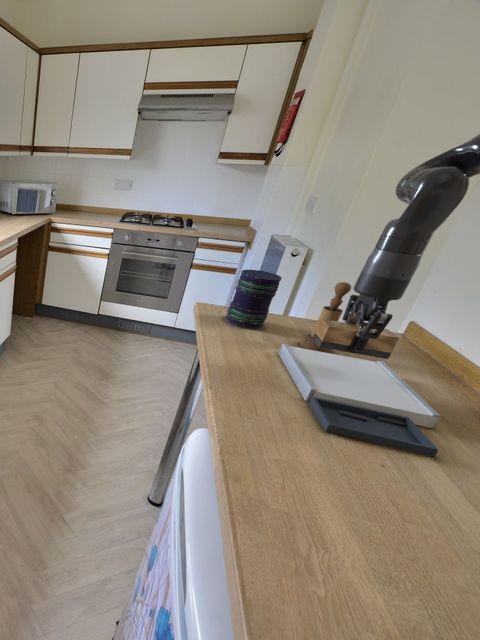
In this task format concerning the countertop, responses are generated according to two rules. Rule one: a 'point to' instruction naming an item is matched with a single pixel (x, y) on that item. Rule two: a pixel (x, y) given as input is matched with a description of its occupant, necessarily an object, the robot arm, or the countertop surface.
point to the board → (355, 384)
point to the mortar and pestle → (327, 317)
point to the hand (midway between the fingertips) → (349, 347)
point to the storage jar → (252, 299)
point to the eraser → (343, 334)
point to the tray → (372, 427)
